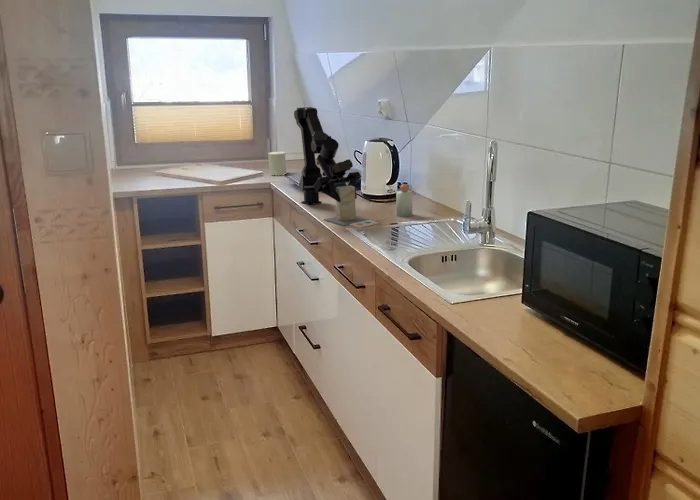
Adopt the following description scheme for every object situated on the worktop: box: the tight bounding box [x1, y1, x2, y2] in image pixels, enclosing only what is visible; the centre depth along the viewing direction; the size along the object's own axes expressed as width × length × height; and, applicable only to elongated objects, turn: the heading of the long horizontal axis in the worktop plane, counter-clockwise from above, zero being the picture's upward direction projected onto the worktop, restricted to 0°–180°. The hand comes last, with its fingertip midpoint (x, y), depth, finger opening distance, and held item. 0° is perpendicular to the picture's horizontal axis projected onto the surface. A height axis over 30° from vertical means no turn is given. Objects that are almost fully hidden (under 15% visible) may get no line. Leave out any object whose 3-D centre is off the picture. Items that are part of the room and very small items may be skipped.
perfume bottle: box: [395, 183, 413, 218], centre depth 236 cm, size 6×6×12 cm
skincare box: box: [335, 185, 357, 221], centre depth 231 cm, size 6×4×12 cm
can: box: [267, 151, 287, 176], centre depth 331 cm, size 9×9×12 cm
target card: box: [348, 219, 380, 229], centre depth 226 cm, size 6×9×1 cm, turn 128°
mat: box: [323, 215, 370, 227], centre depth 232 cm, size 12×12×1 cm
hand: (348, 199), depth 229 cm, fingers open, 7 cm apart
